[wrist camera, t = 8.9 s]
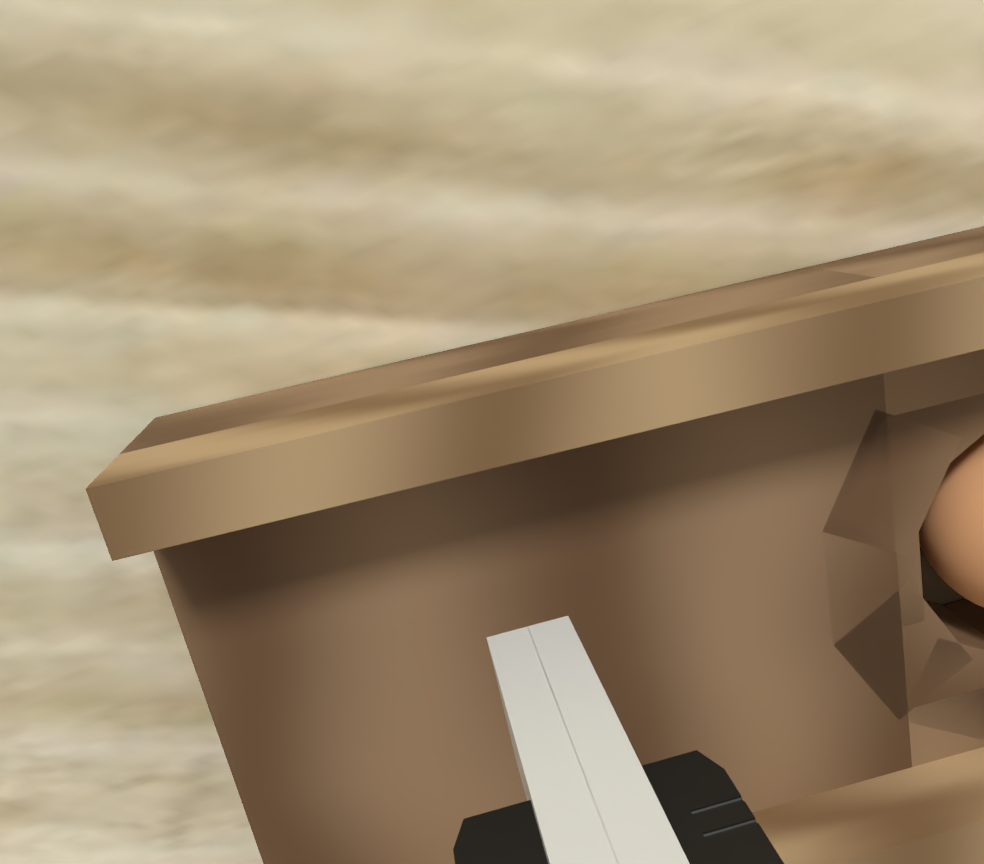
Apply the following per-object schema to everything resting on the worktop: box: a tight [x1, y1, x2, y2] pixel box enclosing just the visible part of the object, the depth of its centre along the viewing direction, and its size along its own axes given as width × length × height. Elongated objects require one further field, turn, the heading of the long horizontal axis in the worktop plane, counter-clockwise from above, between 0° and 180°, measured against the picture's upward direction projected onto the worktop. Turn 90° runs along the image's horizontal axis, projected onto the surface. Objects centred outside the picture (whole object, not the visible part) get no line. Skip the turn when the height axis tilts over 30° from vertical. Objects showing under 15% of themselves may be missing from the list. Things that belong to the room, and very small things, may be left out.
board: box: [86, 227, 984, 864], centre depth 17 cm, size 24×12×4 cm, turn 102°
